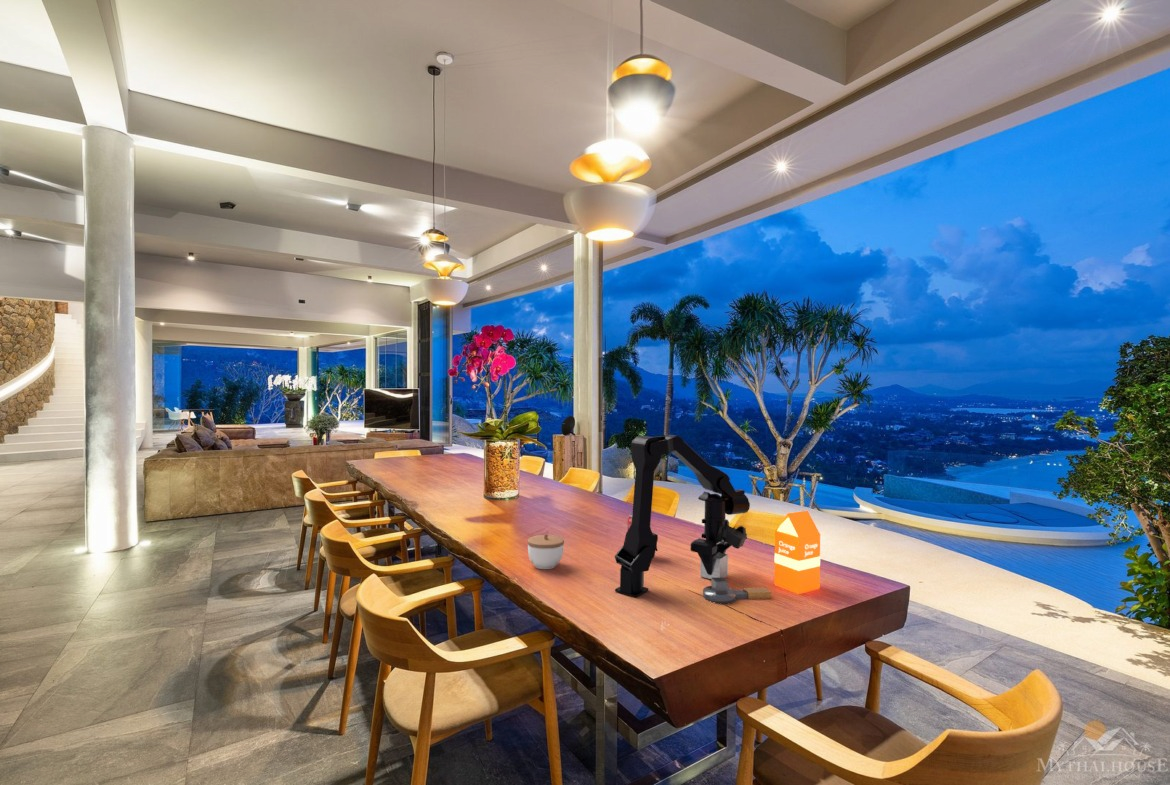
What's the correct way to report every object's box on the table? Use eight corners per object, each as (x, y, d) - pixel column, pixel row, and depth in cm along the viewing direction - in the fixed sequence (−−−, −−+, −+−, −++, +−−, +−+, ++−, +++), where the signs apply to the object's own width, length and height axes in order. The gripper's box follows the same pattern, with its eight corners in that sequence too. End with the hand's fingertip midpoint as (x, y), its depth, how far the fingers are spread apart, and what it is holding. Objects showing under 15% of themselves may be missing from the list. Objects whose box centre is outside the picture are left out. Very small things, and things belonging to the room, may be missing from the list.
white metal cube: (719, 581, 136) (719, 559, 136) (700, 576, 140) (700, 554, 140) (727, 575, 141) (727, 554, 141) (708, 571, 144) (709, 550, 144)
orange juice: (820, 588, 133) (821, 513, 133) (798, 594, 129) (799, 516, 129) (795, 579, 140) (795, 507, 140) (773, 584, 135) (774, 510, 136)
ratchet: (710, 604, 121) (710, 585, 121) (698, 592, 129) (698, 574, 129) (776, 602, 123) (776, 584, 123) (760, 590, 131) (760, 572, 131)
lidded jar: (525, 561, 151) (525, 529, 151) (560, 559, 153) (560, 528, 154) (529, 573, 141) (529, 539, 141) (566, 571, 143) (567, 538, 143)
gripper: (730, 527, 128) (729, 588, 128) (754, 514, 143) (754, 569, 143) (690, 520, 135) (689, 578, 135) (717, 509, 150) (716, 561, 149)
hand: (714, 571), depth 140 cm, fingers closed on white metal cube, 6 cm apart
